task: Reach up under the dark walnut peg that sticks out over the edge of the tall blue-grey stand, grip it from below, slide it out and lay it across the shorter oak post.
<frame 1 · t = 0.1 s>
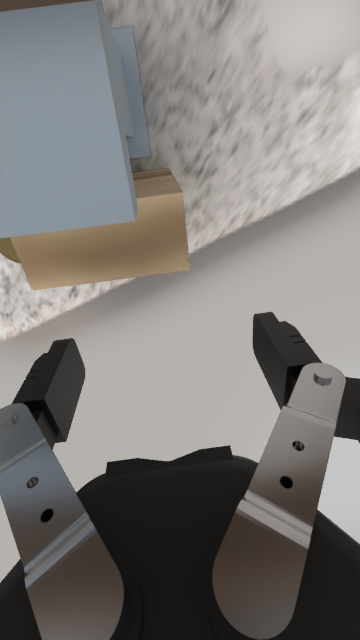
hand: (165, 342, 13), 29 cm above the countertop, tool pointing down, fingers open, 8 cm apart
oak post: (128, 195, 36), on the countertop
blue grey stand: (88, 105, 32), on the countertop
cork: (50, 217, 37), on the countertop
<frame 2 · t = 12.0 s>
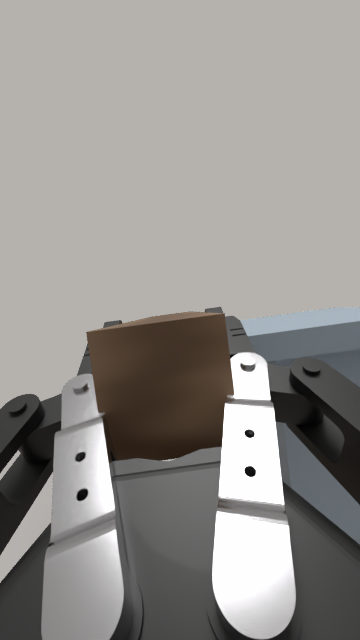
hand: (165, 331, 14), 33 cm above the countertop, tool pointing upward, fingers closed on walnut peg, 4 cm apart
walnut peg: (175, 376, 19), point 30 cm above the countertop, touching gripper
when the fingers open (26 cm above the countertop, at t = 13.6 s): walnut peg drops 1 cm, resting on oak post.
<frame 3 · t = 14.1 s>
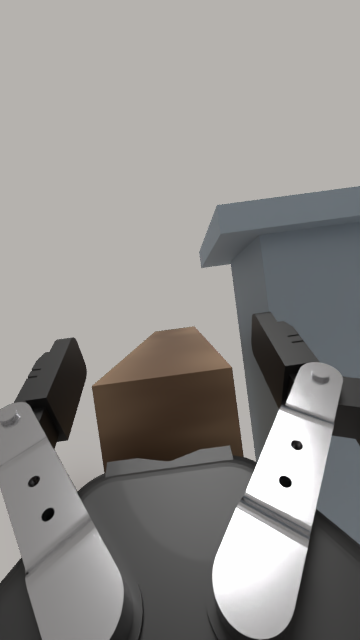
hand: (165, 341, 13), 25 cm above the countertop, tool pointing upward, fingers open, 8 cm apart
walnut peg: (180, 400, 19), point 21 cm above the countertop, touching oak post
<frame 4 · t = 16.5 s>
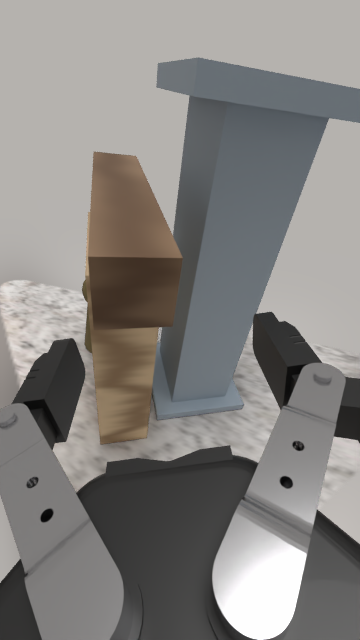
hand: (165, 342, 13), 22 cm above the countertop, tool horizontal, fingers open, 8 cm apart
oak post: (120, 399, 36), on the countertop
blue grey stand: (189, 376, 40), on the countertop
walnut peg: (121, 239, 22), point 21 cm above the countertop, touching oak post
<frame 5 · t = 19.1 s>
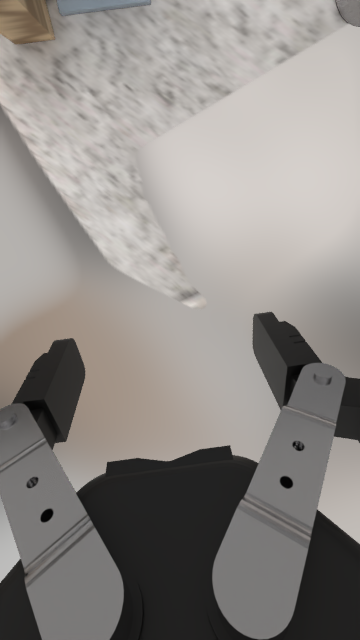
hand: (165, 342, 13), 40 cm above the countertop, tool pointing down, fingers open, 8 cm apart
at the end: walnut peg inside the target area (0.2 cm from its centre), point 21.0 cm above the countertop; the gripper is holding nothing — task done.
